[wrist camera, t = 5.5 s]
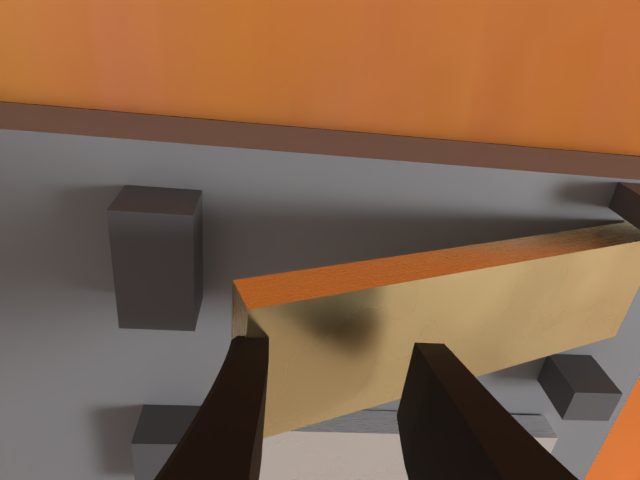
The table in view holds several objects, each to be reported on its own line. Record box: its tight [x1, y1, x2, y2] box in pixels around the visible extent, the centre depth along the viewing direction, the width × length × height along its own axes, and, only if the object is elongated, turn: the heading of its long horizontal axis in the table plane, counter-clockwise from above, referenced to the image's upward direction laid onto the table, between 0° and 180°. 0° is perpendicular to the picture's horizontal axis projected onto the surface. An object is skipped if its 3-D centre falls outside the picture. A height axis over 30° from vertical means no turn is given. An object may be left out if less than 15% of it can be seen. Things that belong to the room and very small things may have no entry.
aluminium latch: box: [259, 410, 558, 480], centre depth 18 cm, size 12×4×1 cm, turn 84°
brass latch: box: [231, 222, 640, 438], centre depth 12 cm, size 12×4×1 cm, turn 83°
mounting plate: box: [0, 102, 640, 480], centre depth 17 cm, size 14×24×4 cm, turn 84°
